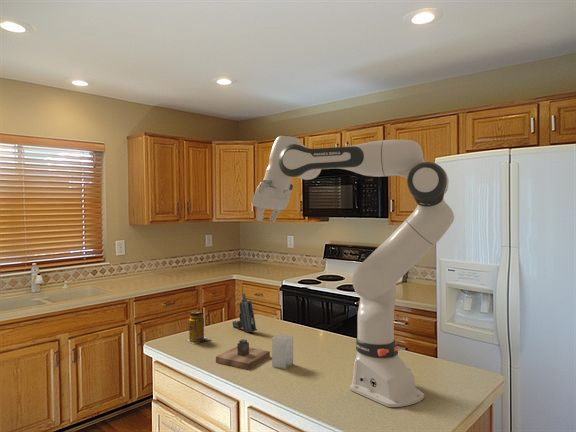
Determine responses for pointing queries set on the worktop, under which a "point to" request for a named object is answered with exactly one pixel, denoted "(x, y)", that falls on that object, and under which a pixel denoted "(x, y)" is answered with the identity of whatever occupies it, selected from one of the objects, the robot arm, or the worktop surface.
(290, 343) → the tall wooden block
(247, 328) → the gun
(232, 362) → the wooden base with peg
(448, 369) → the worktop surface
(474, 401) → the worktop surface
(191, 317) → the condiment
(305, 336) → the worktop surface
